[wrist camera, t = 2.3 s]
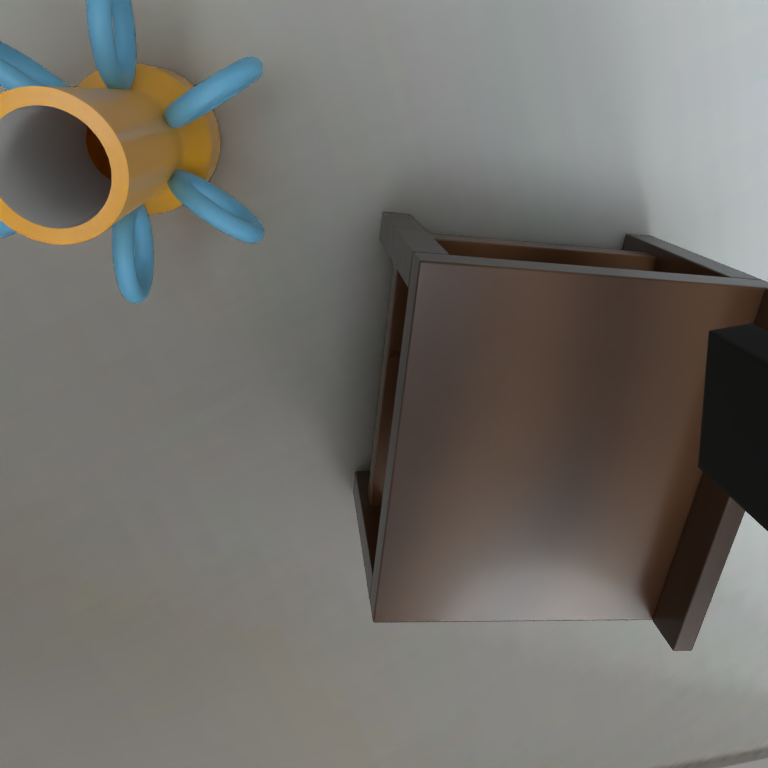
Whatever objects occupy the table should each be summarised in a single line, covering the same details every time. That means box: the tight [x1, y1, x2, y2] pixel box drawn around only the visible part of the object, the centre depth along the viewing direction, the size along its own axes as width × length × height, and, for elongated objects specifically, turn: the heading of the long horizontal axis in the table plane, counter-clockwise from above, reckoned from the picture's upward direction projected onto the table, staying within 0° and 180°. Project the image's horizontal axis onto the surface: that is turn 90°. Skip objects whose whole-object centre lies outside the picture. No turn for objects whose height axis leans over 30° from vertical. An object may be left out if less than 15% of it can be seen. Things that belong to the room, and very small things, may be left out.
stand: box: [353, 212, 768, 651], centre depth 32 cm, size 15×17×13 cm
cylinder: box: [0, 0, 264, 303], centre depth 24 cm, size 12×10×15 cm
